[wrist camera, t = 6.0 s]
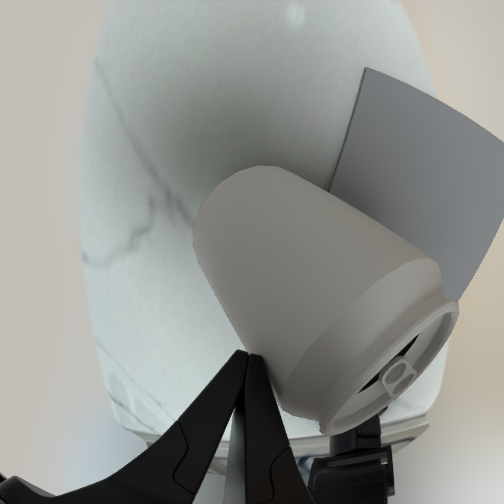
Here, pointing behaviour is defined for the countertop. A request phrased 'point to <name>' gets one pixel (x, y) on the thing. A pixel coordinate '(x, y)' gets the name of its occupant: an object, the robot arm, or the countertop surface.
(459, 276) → the mat
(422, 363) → the can
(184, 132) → the countertop surface
